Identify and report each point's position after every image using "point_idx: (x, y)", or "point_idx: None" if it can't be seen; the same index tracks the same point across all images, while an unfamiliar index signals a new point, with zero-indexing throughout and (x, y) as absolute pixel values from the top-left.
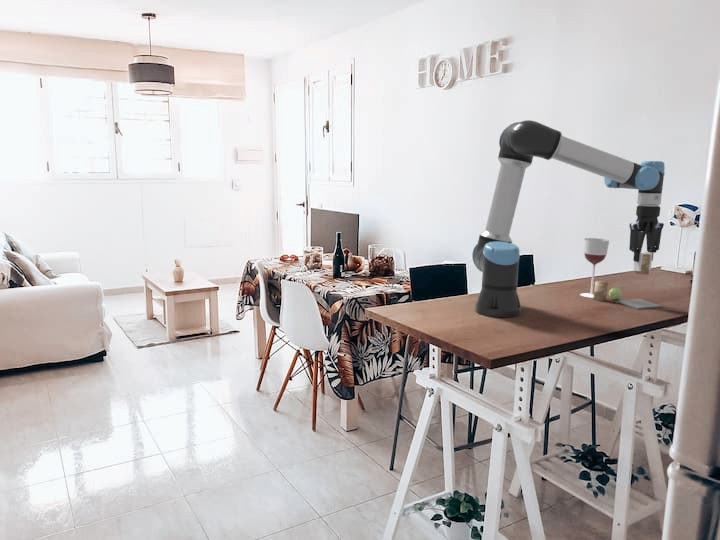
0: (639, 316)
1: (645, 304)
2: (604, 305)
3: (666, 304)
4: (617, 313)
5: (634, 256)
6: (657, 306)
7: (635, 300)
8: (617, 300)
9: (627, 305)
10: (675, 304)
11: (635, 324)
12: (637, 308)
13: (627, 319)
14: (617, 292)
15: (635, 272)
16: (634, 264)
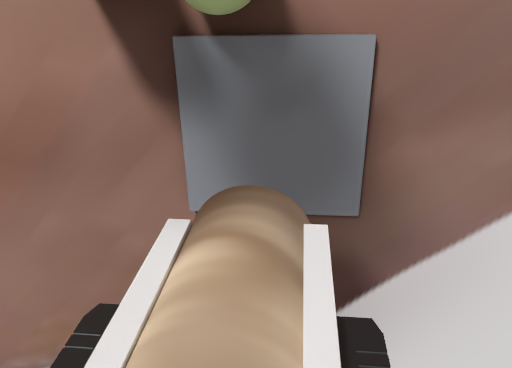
0: (111, 294)
1: (288, 169)
2: (60, 90)
3: (453, 167)
4: (41, 235)
5: (62, 365)
6: (323, 214)
7: (312, 70)
8: (189, 39)
9: (184, 139)
10: (508, 181)
11: (26, 358)
12: (190, 206)
13: (32, 309)
14: (199, 8)
15: (197, 213)
16: (148, 261)
